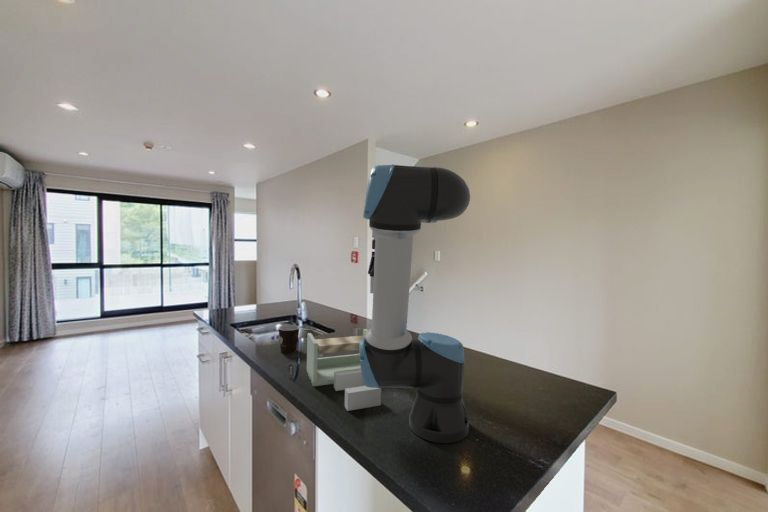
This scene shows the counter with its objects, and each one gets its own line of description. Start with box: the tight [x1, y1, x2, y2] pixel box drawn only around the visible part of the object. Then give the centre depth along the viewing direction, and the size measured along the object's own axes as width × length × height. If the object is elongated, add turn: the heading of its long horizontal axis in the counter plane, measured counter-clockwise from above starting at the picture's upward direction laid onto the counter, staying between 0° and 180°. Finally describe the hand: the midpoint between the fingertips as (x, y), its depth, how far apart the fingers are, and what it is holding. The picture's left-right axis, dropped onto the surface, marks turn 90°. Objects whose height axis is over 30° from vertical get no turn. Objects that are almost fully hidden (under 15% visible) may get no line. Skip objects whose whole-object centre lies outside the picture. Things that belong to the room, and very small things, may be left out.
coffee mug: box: [278, 324, 300, 354], centre depth 136 cm, size 12×9×10 cm
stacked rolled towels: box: [315, 335, 365, 354], centre depth 113 cm, size 18×8×2 cm, turn 113°
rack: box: [333, 368, 382, 412], centre depth 98 cm, size 16×10×5 cm, turn 23°
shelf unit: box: [306, 328, 369, 387], centre depth 114 cm, size 13×22×14 cm, turn 113°
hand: (380, 295), depth 120 cm, fingers open, 13 cm apart
